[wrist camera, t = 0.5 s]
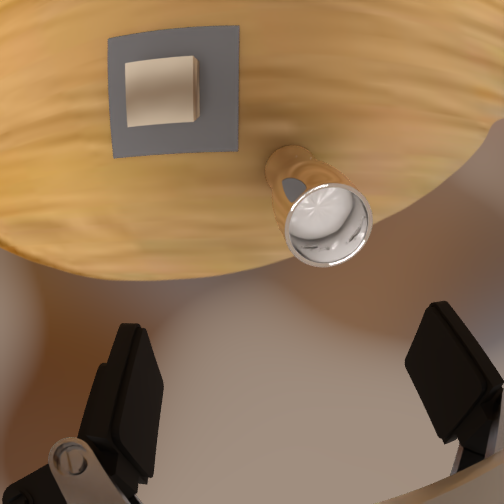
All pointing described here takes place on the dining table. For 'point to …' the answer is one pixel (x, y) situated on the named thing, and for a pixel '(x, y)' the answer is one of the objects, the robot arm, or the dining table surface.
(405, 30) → the dining table surface
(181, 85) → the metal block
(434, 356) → the robot arm
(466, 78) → the dining table surface
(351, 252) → the beer glass
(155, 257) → the dining table surface
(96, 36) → the dining table surface
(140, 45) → the gray mat
